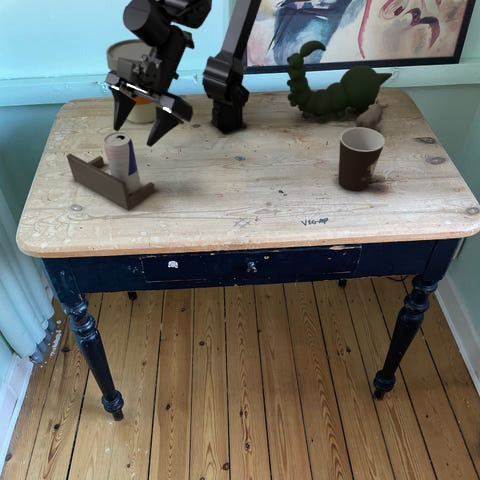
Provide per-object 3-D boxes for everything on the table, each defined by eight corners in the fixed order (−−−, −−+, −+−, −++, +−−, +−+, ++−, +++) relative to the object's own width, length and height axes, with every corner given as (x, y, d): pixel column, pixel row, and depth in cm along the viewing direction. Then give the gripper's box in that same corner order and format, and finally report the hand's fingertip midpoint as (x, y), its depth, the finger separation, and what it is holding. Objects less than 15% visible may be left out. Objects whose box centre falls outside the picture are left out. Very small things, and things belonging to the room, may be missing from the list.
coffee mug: (348, 199, 100) (357, 156, 92) (325, 177, 105) (331, 134, 97) (394, 183, 103) (406, 140, 95) (369, 162, 108) (378, 119, 100)
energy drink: (146, 187, 103) (136, 135, 94) (132, 202, 100) (121, 149, 91) (125, 181, 104) (113, 129, 95) (110, 195, 101) (97, 142, 92)
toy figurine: (293, 136, 118) (394, 117, 119) (292, 54, 103) (407, 33, 104) (284, 116, 124) (380, 98, 125) (282, 36, 109) (391, 16, 110)
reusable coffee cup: (142, 96, 128) (132, 34, 116) (179, 110, 123) (172, 47, 111) (107, 116, 121) (93, 53, 109) (145, 132, 116) (134, 67, 105)
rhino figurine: (389, 120, 119) (395, 96, 114) (364, 146, 112) (370, 121, 107) (374, 115, 121) (379, 91, 116) (348, 140, 114) (353, 116, 109)
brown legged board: (101, 163, 109) (95, 138, 104) (155, 191, 102) (151, 166, 97) (74, 180, 105) (66, 155, 100) (128, 210, 98) (122, 185, 94)
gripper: (100, 23, 89) (69, 106, 92) (176, 50, 82) (139, 139, 85) (139, 54, 99) (109, 128, 102) (209, 80, 92) (175, 159, 95)
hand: (131, 138), depth 96 cm, fingers open, 9 cm apart
